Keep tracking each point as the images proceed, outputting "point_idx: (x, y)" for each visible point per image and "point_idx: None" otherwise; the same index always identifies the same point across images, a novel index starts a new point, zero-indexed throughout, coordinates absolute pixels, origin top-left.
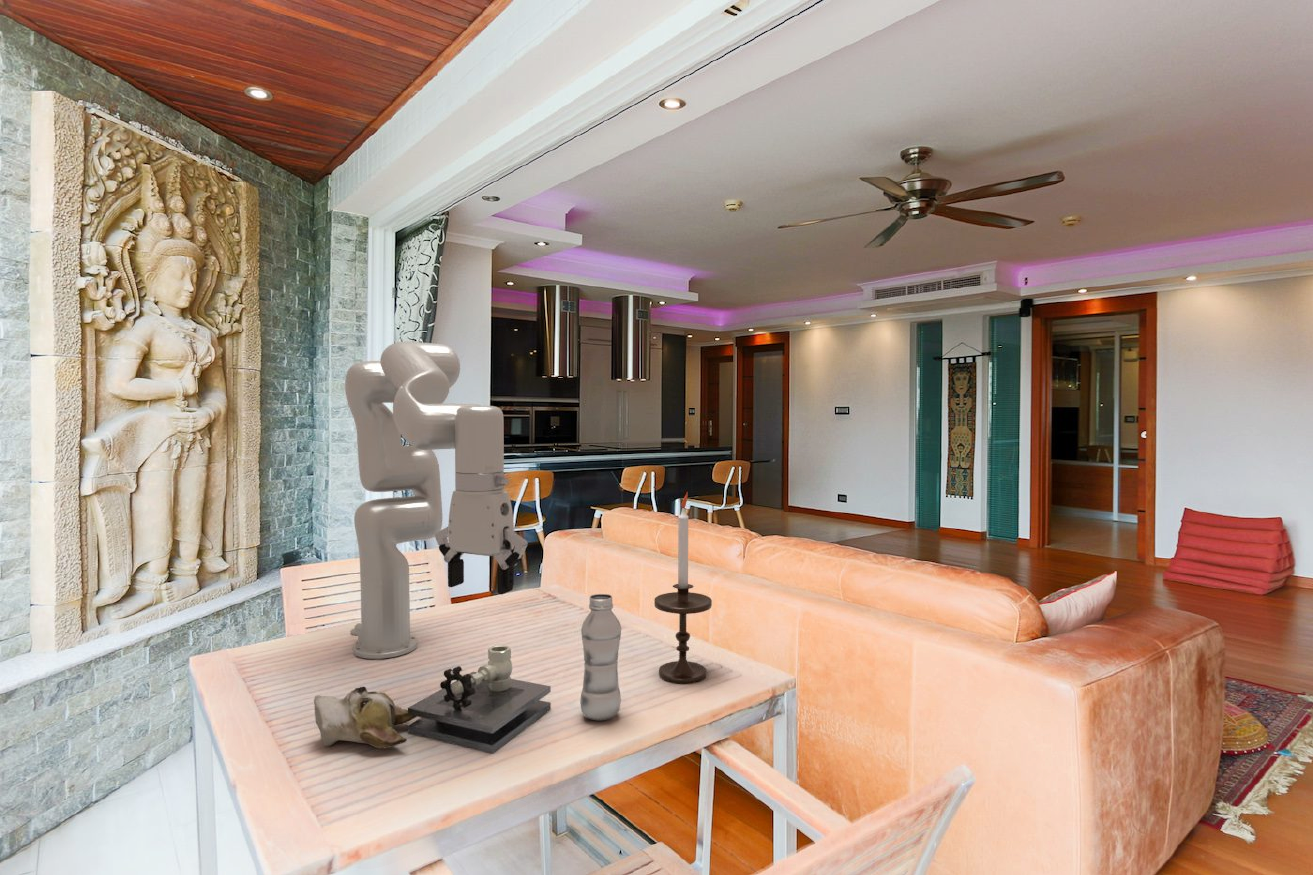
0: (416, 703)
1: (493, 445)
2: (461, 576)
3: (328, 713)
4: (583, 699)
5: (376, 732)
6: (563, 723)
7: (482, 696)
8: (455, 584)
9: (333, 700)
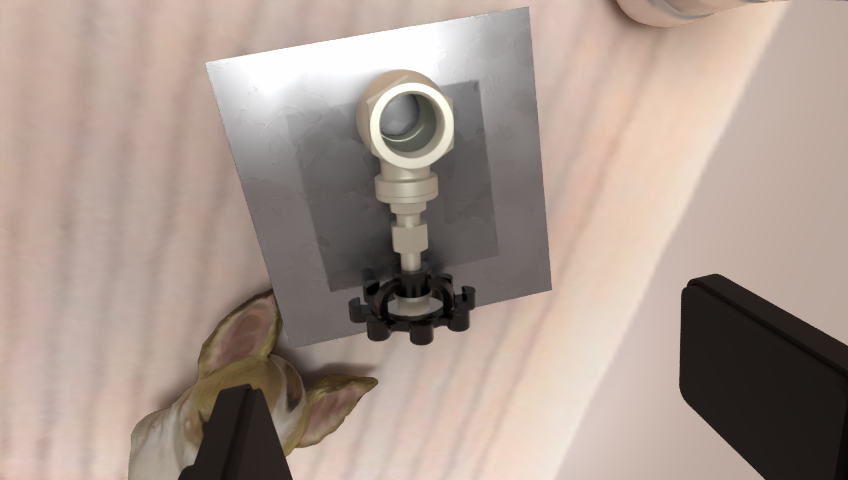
0: (285, 321)
1: None
2: (259, 448)
3: None
4: (659, 18)
5: (312, 418)
6: (582, 62)
7: None
8: (284, 470)
9: None
